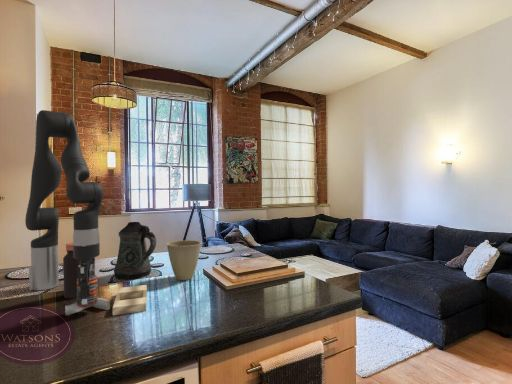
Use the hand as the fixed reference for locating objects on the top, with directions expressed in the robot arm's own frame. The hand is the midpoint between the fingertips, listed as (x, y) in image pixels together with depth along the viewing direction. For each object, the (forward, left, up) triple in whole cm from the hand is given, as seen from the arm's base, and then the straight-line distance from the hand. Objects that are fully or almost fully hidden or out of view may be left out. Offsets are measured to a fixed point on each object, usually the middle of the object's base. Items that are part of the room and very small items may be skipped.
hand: (87, 293), depth 95 cm
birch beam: (+13, +5, -6) cm, 15 cm away
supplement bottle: (0, 0, -4) cm, 4 cm away
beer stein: (+13, +41, -7) cm, 43 cm away
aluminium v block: (0, +4, -6) cm, 7 cm away
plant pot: (+34, +27, -7) cm, 44 cm away
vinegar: (-8, +20, -7) cm, 22 cm away
